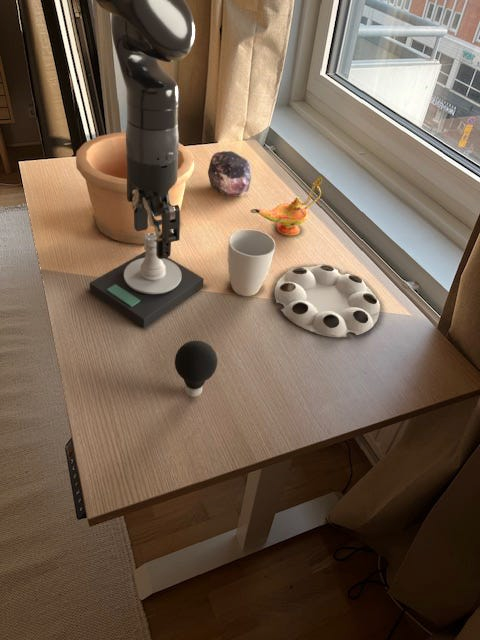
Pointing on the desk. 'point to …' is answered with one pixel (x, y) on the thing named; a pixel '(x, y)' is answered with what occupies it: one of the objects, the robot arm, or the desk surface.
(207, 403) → the desk surface
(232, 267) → the cup
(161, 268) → the rook chess piece
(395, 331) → the desk surface
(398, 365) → the desk surface
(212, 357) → the light bulb
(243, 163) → the mineral specimen
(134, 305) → the scale
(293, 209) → the magic lamp
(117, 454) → the desk surface
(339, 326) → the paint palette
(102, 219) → the pottery
